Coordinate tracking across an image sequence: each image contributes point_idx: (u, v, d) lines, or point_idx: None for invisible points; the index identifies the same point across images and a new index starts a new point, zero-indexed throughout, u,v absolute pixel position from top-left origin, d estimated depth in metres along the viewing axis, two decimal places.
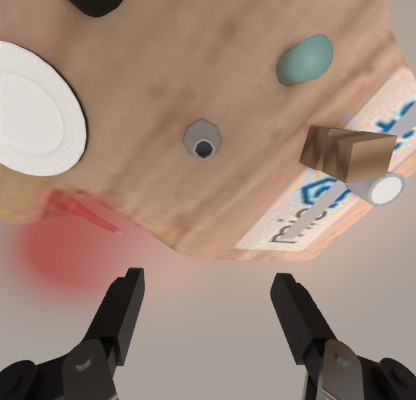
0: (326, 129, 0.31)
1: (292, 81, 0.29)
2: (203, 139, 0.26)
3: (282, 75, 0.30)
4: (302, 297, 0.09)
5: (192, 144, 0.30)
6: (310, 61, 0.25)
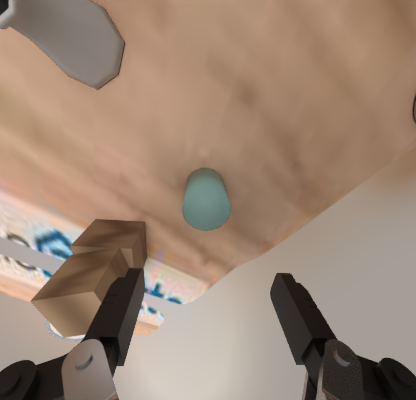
0: (132, 244, 0.23)
1: (186, 189, 0.22)
2: None
3: (194, 175, 0.23)
4: (302, 297, 0.09)
5: None
6: (203, 206, 0.19)
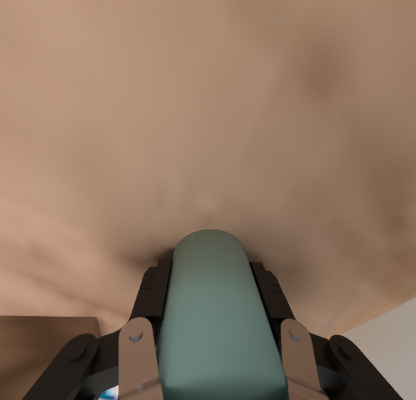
0: None
1: (166, 300, 0.09)
2: None
3: (186, 256, 0.10)
4: (268, 283, 0.10)
5: None
6: None
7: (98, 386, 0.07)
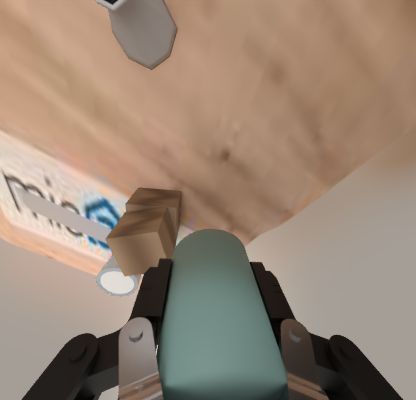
0: (175, 204, 0.27)
1: (167, 299, 0.09)
2: None
3: (187, 255, 0.10)
4: (268, 283, 0.10)
5: None
6: None
7: (98, 386, 0.07)
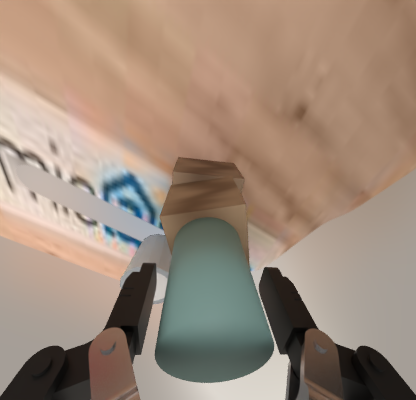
0: (240, 175, 0.19)
1: (169, 274, 0.10)
2: None
3: (187, 238, 0.11)
4: (287, 290, 0.10)
5: None
6: (207, 349, 0.08)
7: None
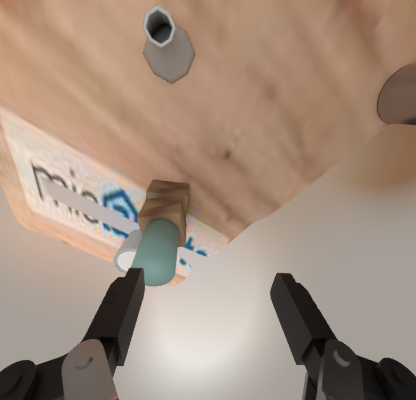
0: (187, 194, 0.32)
1: (139, 244, 0.23)
2: (173, 27, 0.19)
3: (148, 229, 0.25)
4: (302, 297, 0.09)
5: None
6: (149, 269, 0.21)
7: None
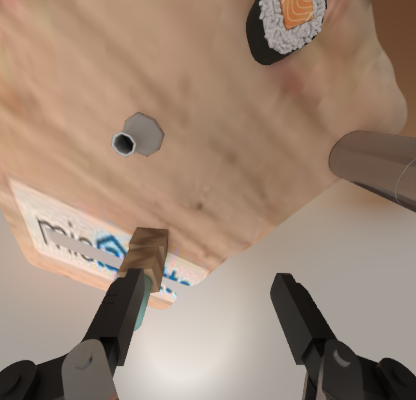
0: (163, 243, 0.39)
1: None
2: (134, 143, 0.25)
3: None
4: (302, 297, 0.09)
5: (132, 127, 0.28)
6: None
7: None
